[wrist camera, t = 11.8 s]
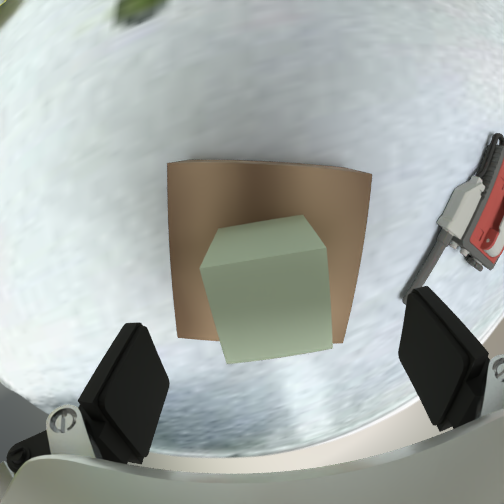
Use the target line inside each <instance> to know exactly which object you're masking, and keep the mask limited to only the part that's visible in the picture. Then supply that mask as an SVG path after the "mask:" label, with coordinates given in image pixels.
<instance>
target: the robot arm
mask: <svg viewBox="0 0 504 504" xmlns="http://www.w3.org/2000/svg"><path fill="white" fill-rule="evenodd" d="M488 354H489V353H488V352H487V351H486V349H485V348H484V347H483V346H482V344H481V343H480V342H479V341H478V340H477V339H476V337H475V336H474V335H473V334H472V333H471V332H470V331H469V329H468V328H467V327H466V326H465V325H464V324H463V323H462V322H461V320H460V319H459V318H458V317H457V316H456V315H455V314H454V313H453V312H452V311H451V310H450V309H449V308H448V306H447V305H446V304H445V303H444V302H443V301H442V300H441V299H440V298H439V297H438V296H437V295H436V294H435V293H434V292H433V291H432V290H431V289H430V288H429V287H428V286H424V287H419V288H414V289H413V290H412V291H411V293H410V294H408V296H407V302H406V310H405V317H404V323H403V329H402V335H401V340H400V346H399V351H398V355H399V359H400V361H401V363H402V365H403V367H404V369H405V371H406V373H407V375H408V376H409V378H410V380H411V382H412V384H413V386H414V388H415V390H416V392H417V394H418V396H419V398H420V400H421V402H422V404H423V406H424V408H425V410H426V412H427V414H428V416H429V418H430V421H431V423H432V424H433V425H437V427H438V429H439V431H443V430H445V429H447V428H450V427H453V430H450V431H448V432H445V433H443V434H440V435H438V436H435V437H432V438H430V439H427V440H424V441H421V442H419V443H415V444H413V445H410V446H407V447H403V448H400V449H397V450H394V451H390V452H387V453H383V454H380V455H376V456H372V457H368V458H364V459H359V460H355V461H350V462H346V463H340V464H335V465H330V466H324V467H317V468H310V469H304V470H294V471H285V472H272V473H253V474H211V473H210V474H209V473H191V472H180V471H169V470H161V469H154V468H147V467H140V466H134V465H128V464H127V463H128V462H132V463H137V464H142V462H143V458H144V457H147V455H148V453H149V450H150V447H151V443H152V440H153V437H154V434H155V430H156V427H157V424H158V421H159V417H160V414H161V411H162V408H163V405H164V402H165V398H166V395H167V392H168V389H169V378H168V376H167V374H166V372H165V369H164V367H163V365H162V363H161V360H160V358H159V356H158V353H157V351H156V348H155V346H154V344H153V341H152V339H151V336H150V334H149V331H148V329H147V327H145V326H143V325H142V324H141V323H126V324H125V325H124V326H123V327H122V329H121V331H120V332H119V334H118V335H117V337H116V338H115V340H114V341H113V343H112V345H111V346H110V348H109V349H108V351H107V353H106V354H105V356H104V357H103V359H102V361H101V362H100V364H99V365H98V367H97V369H96V370H95V372H94V374H93V375H92V377H91V379H90V380H89V382H88V384H87V385H86V387H85V389H84V391H83V392H82V394H81V396H80V398H79V399H78V402H79V403H80V406H79V408H77V407H76V406H73V405H63V406H60V407H58V408H56V409H55V410H54V411H52V412H51V414H50V415H49V417H48V419H47V421H46V429H47V430H45V431H43V432H41V433H39V434H37V435H35V436H32V437H30V438H28V439H26V440H23V441H21V442H19V443H17V444H15V445H14V446H13V447H12V448H11V449H10V450H9V452H8V455H7V463H6V462H4V461H3V462H2V463H1V464H0V504H504V355H498V356H495V357H494V358H493V359H492V360H491V361H490V359H489V358H488Z"/></svg>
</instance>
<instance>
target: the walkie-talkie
mask: <svg viewBox="0 0 504 504" xmlns="http://www.w3.org/2000/svg"><path fill="white" fill-rule="evenodd" d="M498 139H499V145H496V144H497V141H498ZM487 147H488V148H487V149H486V153H485V154H484V158H483V161H482V163H481V167H479V172H477V174H476V176H472V177H471V179H470V180H469V181H467V182H465V183H463V184H462V185H460V186H458V187H456V188H455V190H454V192H453V194H452V196H451V198H450V200H449V202H448V204H447V206H446V208H445V210H444V212H443V214H442V216H440V218H439V220H438V221H437V224H438V225H440V226H441V227H442V230H441V232H440V234H439V235H438V237H437V242H436V244H435V246H434V247H433V249H432V251H431V253H430V254H429V256H428V258H427V259H426V261H425V263H424V264H423V266H422V268H421V269H420V271H419V273H418V274H417V278H416V279H415V281H414V283H413V284H412V286H411V287H410V289H409V290H408V292H407V294H406V295H405V297H404V298H403V303H404V304H405V305H406V302H407V296H408V294H410V293H411V291H412V290H413V289H414V288H419V287H422V286H423V284H424V283H425V281H426V279H427V278H428V276H429V275H430V273H431V271H432V270H433V268H434V266H435V265H436V263H437V261H438V260H439V258H440V256H441V254H442V253H443V251H444V249H445V247H447V246H448V245H450V246H451V247H453V248H454V249H456V248H457V246H458V247H459V246H460V247H461V251H460V253H461V254H462V255H464V256H465V257H466V256H467V254H469V255H470V256H471V257H468V259H467V262H468V263H469V264H470V265H472V266H473V267H474V268H476V269H477V270H478V271H482V269H483V267H482V265H483V266H485V267H486V268H488V269H489V270H491V269H493V268H494V266H495V264H496V262H497V260H498V258H499V256H500V255H501V254H502V252H503V250H504V137H503V135H502V134H500V133H496V134H494V136H493V137H492V140H491V143H490V145H489V146H487ZM450 241H451V243H450ZM449 243H450V244H449Z"/></svg>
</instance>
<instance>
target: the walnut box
mask: <svg viewBox="0 0 504 504" xmlns="http://www.w3.org/2000/svg"><path fill="white" fill-rule="evenodd" d="M371 182H372V174H370V173H366V172H362V171H357V170H353V169H349V168H344V167H334V166H325V165H314V164H302V163H288V162H272V161H249V160H185V161H178V162H172V163H167V192H168V226H169V247H170V263H171V276H172V288H173V299H174V310H175V319H176V328H177V336H178V338H186V339H197V340H210V341H220V340H219V336H218V333H217V330H216V326H215V323H214V319H213V316H212V312H211V309H210V305H209V302H208V298H207V295H206V291H205V287H204V284H203V280H202V276H201V272H200V269H199V268H200V266H201V264H202V262H203V260H204V257H205V255H206V253H207V251H208V249H209V247H210V245H211V243H212V241H213V239H214V237H215V234H216V232H217V230H218V229H219V228H225V227H231V226H236V225H242V224H248V223H254V222H260V221H266V220H272V219H278V218H284V217H290V216H297V215H304V217H305V218H306V220H307V221H308V222H309V224H310V225H311V226H312V228H313V229H314V231H315V232H316V233H317V235H318V236H319V238H320V239H321V241H322V242H323V243H324V245H325V246H326V248H327V259H328V271H329V285H330V300H331V318H332V343H343V340H344V337H345V333H346V329H347V324H348V320H349V316H350V312H351V307H352V302H353V298H354V293H355V288H356V283H357V278H358V273H359V267H360V262H361V256H362V250H363V244H364V238H365V231H366V224H367V217H368V209H369V200H370V192H371Z"/></svg>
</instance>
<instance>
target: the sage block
mask: <svg viewBox="0 0 504 504" xmlns="http://www.w3.org/2000/svg"><path fill="white" fill-rule="evenodd" d="M199 269H200V272H201V276H202V280H203V284H204V287H205V291H206V295H207V298H208V302H209V305H210V309H211V312H212V316H213V319H214V323H215V326H216V330H217V333H218V336H219V340H220V343H221V346H222V350H223V353H224V356H225V359H226V363H227V364H233V363H242V362H251V361H259V360H266V359H274V358H281V357H287V356H294V355H300V354H305V353H311V352H317V351H322V350H327V349H332V348H333V344H332V318H331V300H330V285H329V271H328V259H327V248H326V246H325V245H324V243H323V242H322V241H321V239H320V238H319V236H318V235H317V233H316V232H315V231H314V229H313V228H312V226H311V225H310V224H309V222H308V221H307V220H306V218H305V217H304V215H297V216H290V217H284V218H278V219H272V220H266V221H260V222H254V223H248V224H242V225H236V226H231V227H225V228H219V229H218V230H217V232H216V234H215V237H214V239H213V241H212V243H211V245H210V247H209V249H208V251H207V253H206V255H205V257H204V260H203V262H202V264H201V266H200V268H199Z"/></svg>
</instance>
